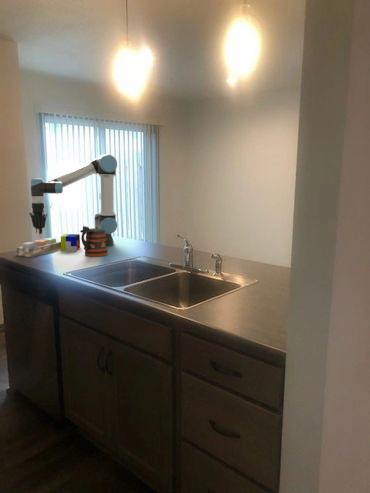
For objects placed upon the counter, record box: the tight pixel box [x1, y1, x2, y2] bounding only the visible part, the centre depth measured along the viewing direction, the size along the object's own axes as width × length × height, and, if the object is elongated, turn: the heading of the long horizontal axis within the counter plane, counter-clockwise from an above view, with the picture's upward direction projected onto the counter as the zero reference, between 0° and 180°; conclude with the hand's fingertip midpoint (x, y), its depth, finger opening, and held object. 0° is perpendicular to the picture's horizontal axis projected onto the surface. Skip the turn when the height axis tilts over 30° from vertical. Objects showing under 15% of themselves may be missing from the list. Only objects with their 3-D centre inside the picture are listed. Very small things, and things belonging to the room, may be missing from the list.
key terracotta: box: [32, 239, 47, 246], centre depth 252 cm, size 6×6×4 cm
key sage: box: [42, 237, 57, 244], centre depth 260 cm, size 6×6×4 cm
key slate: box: [21, 241, 37, 248], centre depth 244 cm, size 6×6×4 cm
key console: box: [16, 240, 61, 258], centre depth 253 cm, size 12×28×5 cm, turn 158°
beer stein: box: [80, 225, 109, 258], centre depth 245 cm, size 19×15×20 cm
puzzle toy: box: [60, 233, 81, 252], centre depth 262 cm, size 10×10×10 cm
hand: (39, 238), depth 251 cm, fingers closed
